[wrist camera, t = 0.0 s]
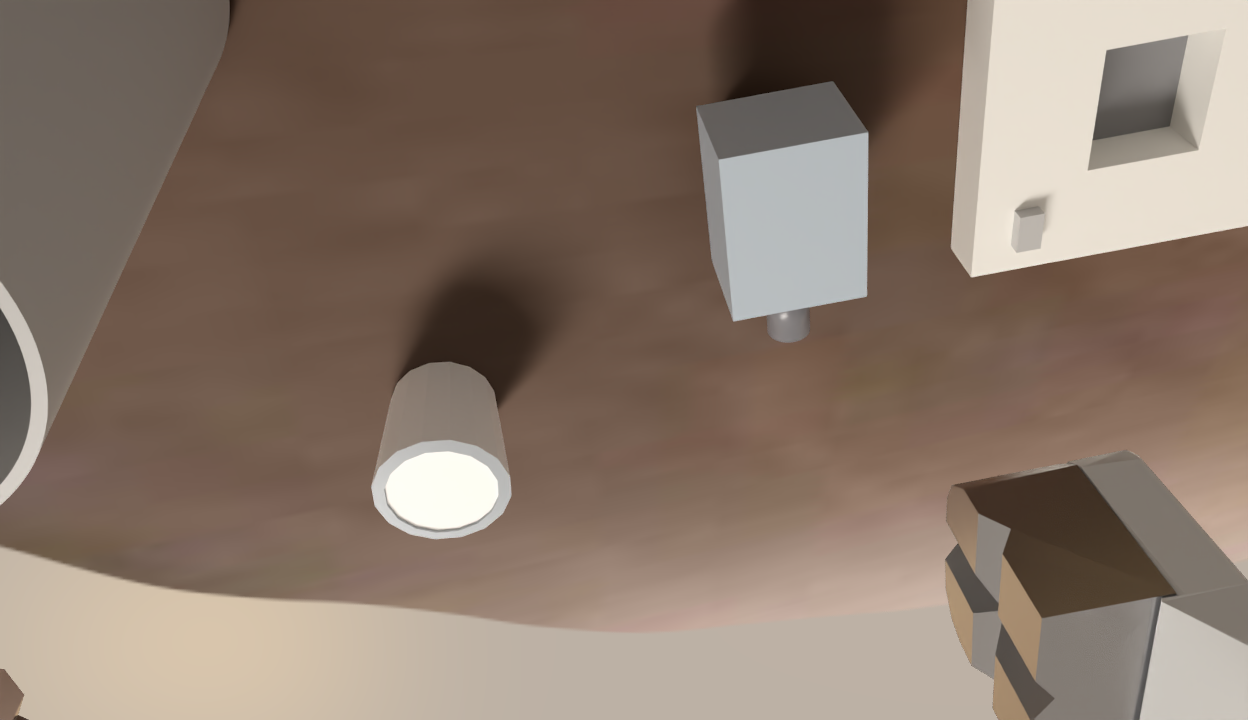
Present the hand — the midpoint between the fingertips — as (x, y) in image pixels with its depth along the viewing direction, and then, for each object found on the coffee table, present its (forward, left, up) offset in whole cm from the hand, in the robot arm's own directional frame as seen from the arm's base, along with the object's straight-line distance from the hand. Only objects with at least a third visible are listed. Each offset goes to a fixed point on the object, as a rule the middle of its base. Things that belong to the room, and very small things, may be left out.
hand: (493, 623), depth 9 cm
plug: (+18, +10, -39) cm, 44 cm away
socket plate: (+17, +28, -39) cm, 51 cm away
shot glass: (+29, -8, -39) cm, 49 cm away
